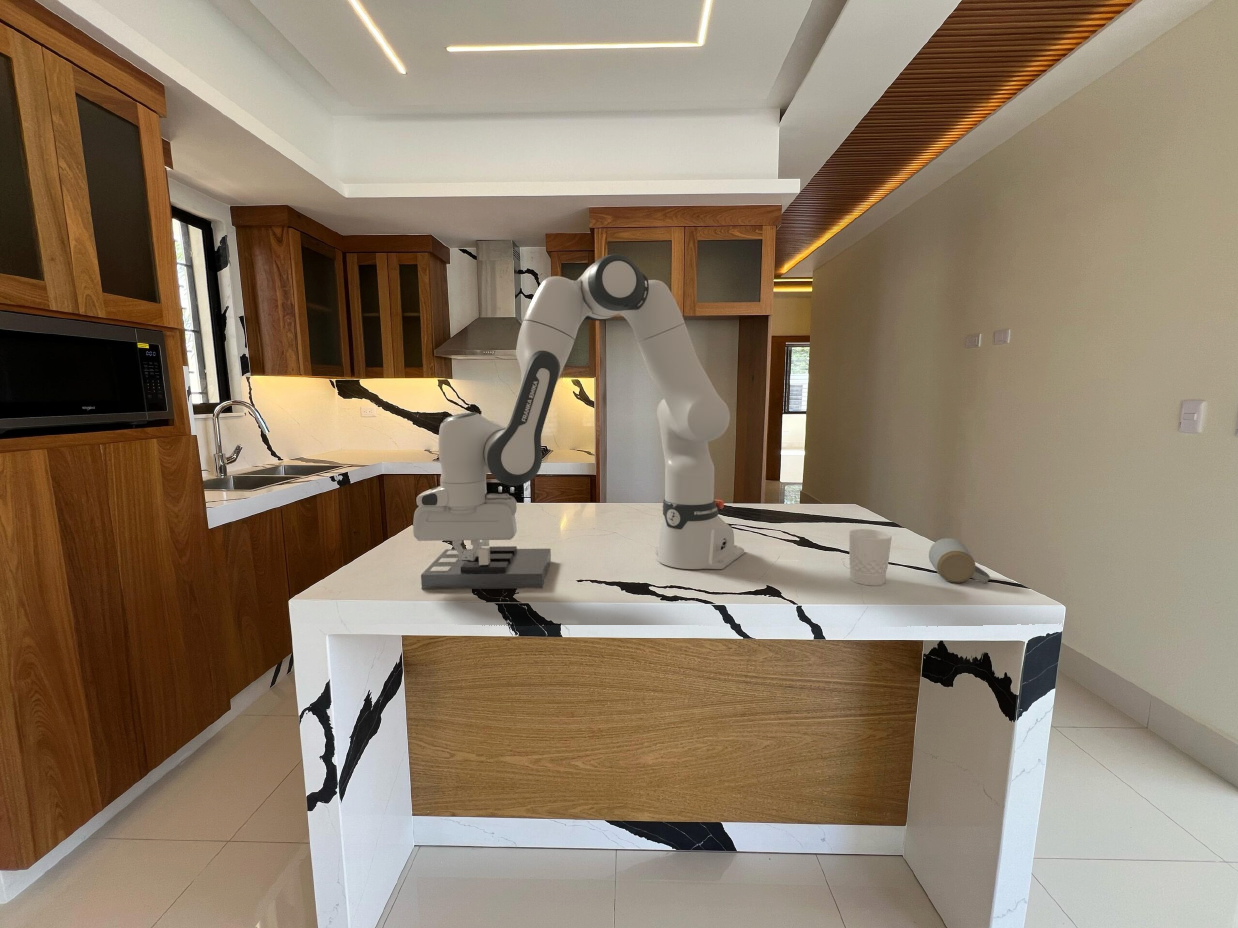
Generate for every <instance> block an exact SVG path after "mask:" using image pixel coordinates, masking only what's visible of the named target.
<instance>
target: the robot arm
mask: <svg viewBox="0 0 1238 928" xmlns="http://www.w3.org/2000/svg"><path fill="white" fill-rule="evenodd" d="M618 315H620V316H622V317H624V319H625V320H626V321H627V322H628V324H629V326H630V327H631V328H632V332H633V334H634V337H635V340H636V342H637V346H638V349H639V351H640V354H641V356H642V358H643V362H644V365H645V367H646V369H647V370H646V371H647V372H648V376H649V378H651V380H652V381H653V382H654V384H655V386H656V387H657V389H658V391H659V393H660V394H661V396H662V399H661V401H660V402H659V404H658V405H657V409H656V418H657V419H656V420H657V422H658V424H659V429H660V438H661V439H660V441H661V446H662V451H663V458H664V469H665V472H664V473H665V474H664V476H665V477H664V483H665V484H664V495H665V496H664V499H663V500H662V515H663V516H664V517H663V519H661V521H660V529H659V539H658V546H657V547H655V553H656V555H657V557H656V558H657V560H658V562H659V563H660V564H662V565H665V566H667V567H671V568H677V569H683V570H702V569H703V570H705V569H709V570H710V569H711V570H722V569H724V568H725V567H727V566H728V565H730V564H732V563H733V562H734V561H735V560H736V559H738V558H740V557H741V556H742V555H744V554H745V548H743V547H741V546H739V545H737V544H735V533H734V529H733V528H732V527H731V526H730V525H729V524H728V523H727V522H725V520H724V519H722V518H721V517H720V516H719V511H718V509H723V508H724V506H725V501H724V500H723V499H718V498H717V499H714V495H715V466H714V465H715V464H714V462H713V460H712V457H711V454H710V449H709V442H711V441H714V440H717V439H719V438H720V437H721V436H723V435H724V433H725V432H726V431H727V429H728V428H729V424H730V421H731V414H730V409H729V407H728V404H726V402H725V401H724V400H723V399H722V397H720V396H719V394H718V392H717V391H716V389H715V387H714V385H713V383H712V381H711V379H710V378H709V376H708V374H707V372H706V371H705V369H704V367H703V366H702V364H701V362H700V360H699V357H698V356H697V353H696V351H695V346H694V345H693V342H692V340H691V339H692V338H691V336H690V333H689V331H688V328H687V325H686V323H685V319H684V317H683V314H682V311H681V310H680V307H679V305H678V304H677V301H676V299H675V298H674V295H673V293H672V292H671V290H670V288H669V287H668V285H667V284H665V282H663V281H661V280H657V279H648V277H647V276H646V275H645V274H644V273H643V272H642V271H641V270H640V269H639V267H638V266H637V265H636V264H635V263H634V261H632V260H631V259H630V258H628V257H627V256H625V255H621V254H608V255H607V254H606V255H605V256H602V257H600V258H598V259H597V260H596V261H595V262H594V263H592V264H591V265H589V266H588V267H587V268H586V269H585V271H584V272H583V273H582V274H581V276H580V277H578V278H577V279H576V280H571V279H570V278H567V277H564V276H558V275H556V276H555V275H554V276H549V277H546V278H545V279H544V280H542V281H541V283H540V284H539V286H538V288H537V289H536V291H535V293H534V295H533V297H532V299H531V301H530V303H529V306H528V308H527V310H526V312H525V315H524V317H523V321H522V323H521V326H520V328H519V332H518V336H517V340H516V341H517V342H516V347H515V349H516V350H515V356H516V359H517V361H518V365H519V368H520V375H521V376H520V386H519V389H518V392H517V397H516V398H515V402H514V405H513V409H512V411H511V414H510V417H509V421H508V424H507V425H506V426H504V425H501V424H498V423H496V422H493V421H492V420H489V419H488V418H486V417H484V416H482V415H481V414H479V412H475V411H474V412H472V411H470V412H463V413H462V412H461V413H457V414H454V415H450V416H447V417H446V418H445V419H443V421H442V422H441V423H440V424H439V425H440V426H439V429H438V430H439V432H438V460H439V463H440V467H441V474H440V477H439V478H440V479H439V481H440V482H439V484H440V486H436V487H435V486H434V487H433V488H430V489H428V490H425V491H423V492H421V493H420V494H419V495H417V497H416V500H415V501H416V505H417V506H418V507H417V508H416V509H415V511H414V514H413V520H412V521H413V523H412V525H413V526H412V532H413V537H414V538H415V540H417V541H419V542H427V541H428V542H430V541H431V542H432V541H433V542H435V541H440V542H441V541H444V542H445V541H452V547H453V548H454V549H455V550H456V551H457V553H459V561H474V560H475V551H476V549H477V547H478V545H479V544H480V540H489V541H507V540H508V541H509V540H510V541H511V540H512V539H513V538H514V537H515V536H516V534H517V530H518V529H517V521H516V519H517V518H516V515H515V514H516V513H517V506H518V505H517V500H516V499H515V497H514V496H513V495H509V493H487V492H488V491H487V475H488V474H491V475H492V477H493V478H494V479H496V481H497V482H499V483H501V484H503V485H506V486H513V487H515V486H521V485H524V484H527V483H528V482H530V481H532V480H533V479H534V478H535V477H536V476H537V474H538V473H539V471H540V469H541V466H542V463H543V453H542V452H543V450H542V434H543V429H544V427H545V426H544V425H545V423H546V420H547V419H546V418H547V416H548V412H549V409H550V405H551V403H552V398H553V396H554V392H555V388H556V385H557V383H558V381H559V378H560V376H561V374H562V372H563V369H564V368H565V365H566V363H567V361H568V359H569V357H570V353H571V352H572V349H573V346H574V344H575V340H576V337H577V334H578V331H579V328H580V326H581V324H582V322H583V321H584V320H587V321H597V322H599V321H605V320H609V319H610V318H613V317H616V316H618ZM463 541H470V545H471V546H472V548H471V549H472V550H471V551H464V550H463V549H464V548H463V547H462V545H461V544H462V543H463ZM473 545H474V546H473Z"/></svg>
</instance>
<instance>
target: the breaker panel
mask: <svg viewBox="0 0 1238 928" xmlns="http://www.w3.org/2000/svg"><path fill="white" fill-rule="evenodd" d="M463 550H464V551H471V550H472V548H463ZM551 550H552V549H551V548H517V546H516V545H515V546H514V545H513V546H505V545H504V546H502V545H501V546H490V562H489V564H488V565H479V557H475V560H474V561H459V553H457V551H456V550H455V548H454V549H453V548H450V549H449V548H447V549H445V550H443V552H442V553H440V555H439V556H438V557H437V558H436V559H435V560H433V562H431V564H430V565H429V566H428V567H427V568H426V569H425V570H424V571H423V572H422V573H421V574H420V578H421V579H420V580H421V581H420V584H421V590H463V589H464V590H465V589H469V590H471V589H473V590H477V589H479V590H481V589H482V590H483V589H484V590H485V589H486V590H487V589H488V590H489V589H490V590H493V589H543V587H544V583H545V581H546V577H547V575H548V571H549V568H550V565H551V562H552V558H551V556H552V554H551Z"/></svg>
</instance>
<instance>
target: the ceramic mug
mask: <svg viewBox="0 0 1238 928" xmlns="http://www.w3.org/2000/svg"><path fill="white" fill-rule="evenodd" d="M928 559H929V562H930V564H931V565H932V567H933V568H934V570H936V572H937V574H938V575H939V576H940V577H941V578H942V579H944V580H945V581H948V582H951V583H956V584H957V583H958V584H960V583H964V582H967V581H968V580H970V579H973V580H975V581H976V582H979V583H982V584H987V583H988V581H989V580H990V579H991V576H990V574H989V573H987V572H986V571H985V570H984V569H982V568H980V567H979V566H977V565H976V561H975V559H974V556H973V555H972V554H971V552H970V551H969V549H968V547H966V545H965V544H964V543H963V542H961V541H959V540H958V539H956V538H949V537H948V538H941V539H938V540H936V541H935V542H934V543H932V545H931V546H930V548H929V551H928Z"/></svg>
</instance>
